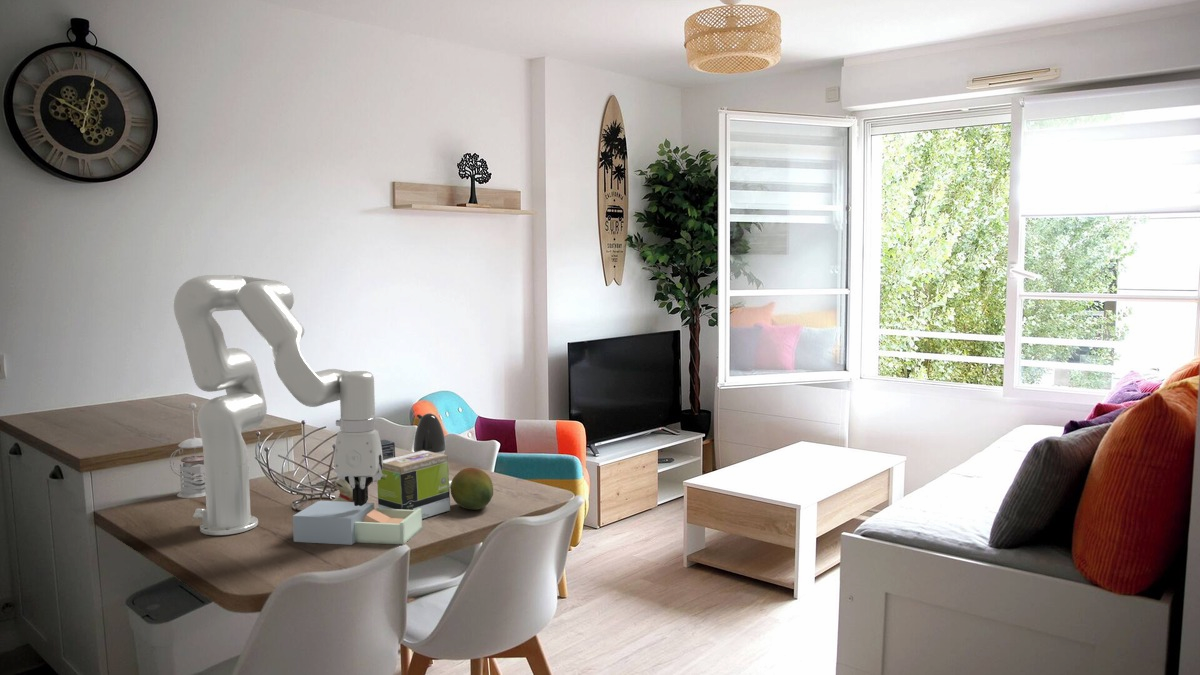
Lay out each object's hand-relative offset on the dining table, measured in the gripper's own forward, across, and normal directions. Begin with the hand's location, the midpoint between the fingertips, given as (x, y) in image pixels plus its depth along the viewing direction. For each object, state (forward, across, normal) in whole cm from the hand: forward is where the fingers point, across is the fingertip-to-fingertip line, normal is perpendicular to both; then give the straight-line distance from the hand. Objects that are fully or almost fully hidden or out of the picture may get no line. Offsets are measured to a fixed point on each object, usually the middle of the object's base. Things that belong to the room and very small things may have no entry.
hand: (360, 504), depth 187 cm
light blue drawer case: (+8, -6, 0) cm, 10 cm away
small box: (+8, -19, +49) cm, 53 cm away
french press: (+8, -62, +27) cm, 68 cm away
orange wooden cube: (+6, +3, 0) cm, 6 cm away
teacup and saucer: (+8, +4, +42) cm, 43 cm away
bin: (+8, +6, +1) cm, 10 cm away
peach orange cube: (+3, +9, -1) cm, 10 cm away
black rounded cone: (+8, -11, +72) cm, 73 cm away
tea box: (+8, +6, +17) cm, 20 cm away
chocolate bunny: (+8, -12, +15) cm, 21 cm away
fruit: (+8, +19, +25) cm, 32 cm away
